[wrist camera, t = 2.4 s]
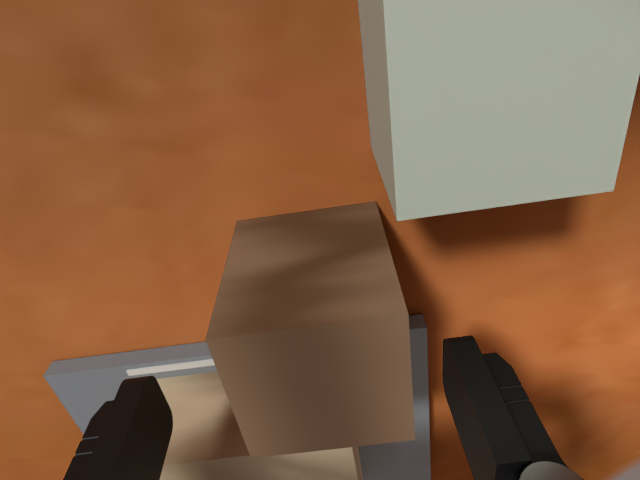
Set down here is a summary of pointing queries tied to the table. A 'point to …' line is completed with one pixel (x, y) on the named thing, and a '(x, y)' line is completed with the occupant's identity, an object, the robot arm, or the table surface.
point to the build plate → (110, 370)
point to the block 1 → (313, 333)
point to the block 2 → (497, 99)
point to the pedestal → (233, 441)
